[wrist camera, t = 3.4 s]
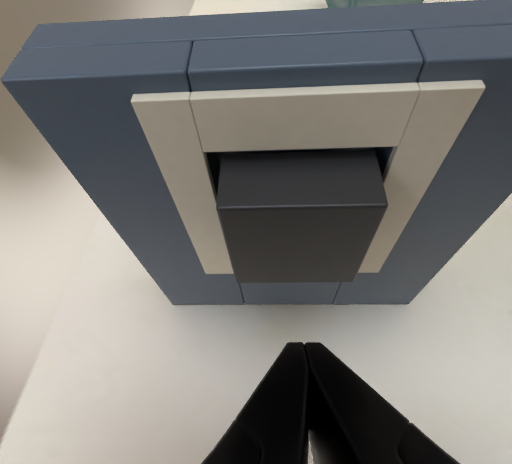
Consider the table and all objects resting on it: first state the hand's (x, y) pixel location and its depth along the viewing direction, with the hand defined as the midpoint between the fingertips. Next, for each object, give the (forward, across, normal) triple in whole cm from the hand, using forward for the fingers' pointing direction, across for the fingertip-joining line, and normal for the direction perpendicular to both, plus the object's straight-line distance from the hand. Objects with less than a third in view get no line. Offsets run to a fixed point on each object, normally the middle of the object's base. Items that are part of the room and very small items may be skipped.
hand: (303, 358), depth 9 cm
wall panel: (+12, 0, +3) cm, 12 cm away
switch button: (+5, 0, -1) cm, 5 cm away
